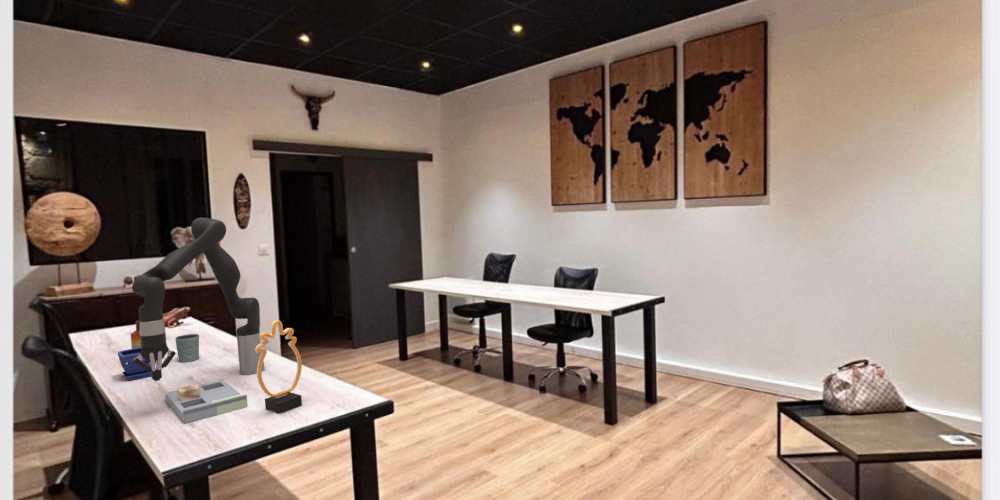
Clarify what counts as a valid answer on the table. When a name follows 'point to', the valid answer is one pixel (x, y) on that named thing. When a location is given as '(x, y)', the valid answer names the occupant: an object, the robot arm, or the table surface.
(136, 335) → the vase
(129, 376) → the flower pot
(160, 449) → the table surface
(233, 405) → the board
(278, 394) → the lamp
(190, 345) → the teal cup
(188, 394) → the beech block
